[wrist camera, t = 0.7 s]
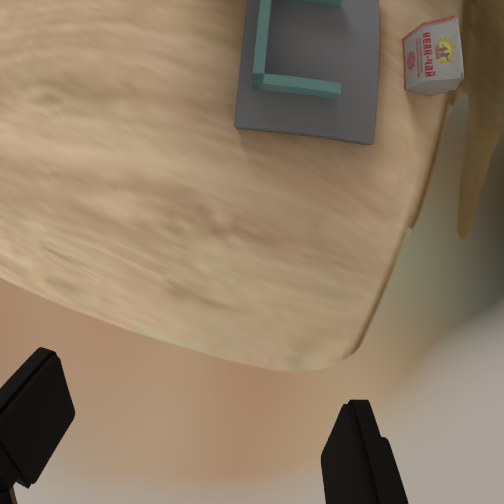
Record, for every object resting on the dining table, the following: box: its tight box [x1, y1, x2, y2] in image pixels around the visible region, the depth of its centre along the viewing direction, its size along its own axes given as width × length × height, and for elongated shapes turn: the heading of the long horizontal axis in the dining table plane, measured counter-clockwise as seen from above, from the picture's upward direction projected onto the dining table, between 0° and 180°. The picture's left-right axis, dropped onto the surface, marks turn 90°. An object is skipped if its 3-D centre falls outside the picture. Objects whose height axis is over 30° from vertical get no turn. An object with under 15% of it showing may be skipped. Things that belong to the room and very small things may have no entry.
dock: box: [234, 0, 379, 145], centre depth 27 cm, size 20×14×6 cm
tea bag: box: [402, 16, 464, 96], centre depth 24 cm, size 4×7×10 cm, turn 178°
